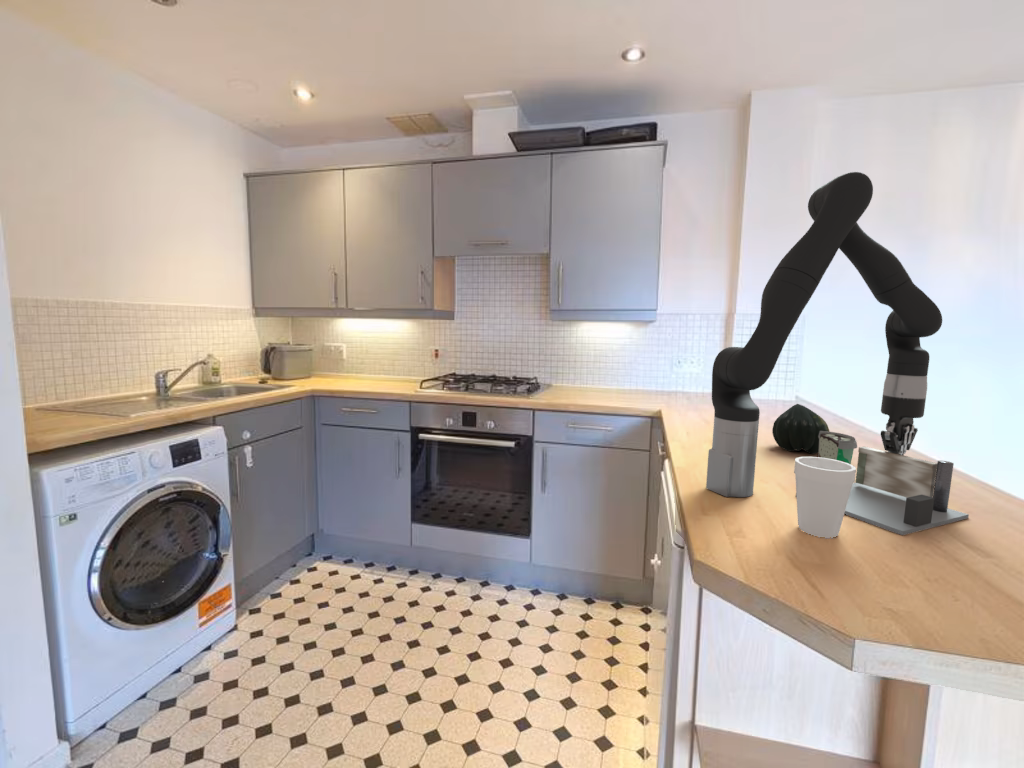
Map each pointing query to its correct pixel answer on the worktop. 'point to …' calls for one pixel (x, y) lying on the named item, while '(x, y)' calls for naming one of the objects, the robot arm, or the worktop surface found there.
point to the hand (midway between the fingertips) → (894, 469)
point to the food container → (836, 446)
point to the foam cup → (822, 494)
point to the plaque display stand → (905, 506)
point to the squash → (799, 429)
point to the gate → (895, 473)
